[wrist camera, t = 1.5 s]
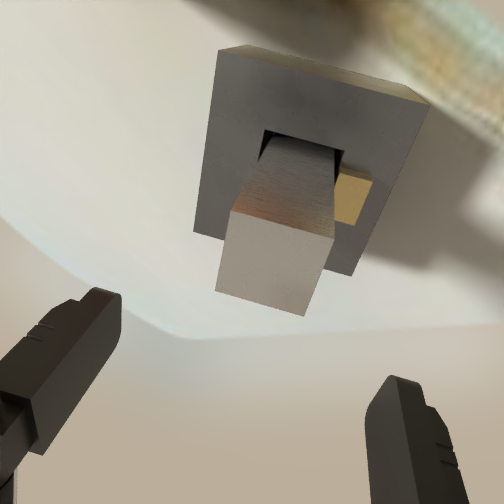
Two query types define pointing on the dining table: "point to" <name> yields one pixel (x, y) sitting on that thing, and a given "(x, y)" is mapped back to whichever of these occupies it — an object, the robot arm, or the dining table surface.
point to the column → (281, 226)
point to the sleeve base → (306, 137)
